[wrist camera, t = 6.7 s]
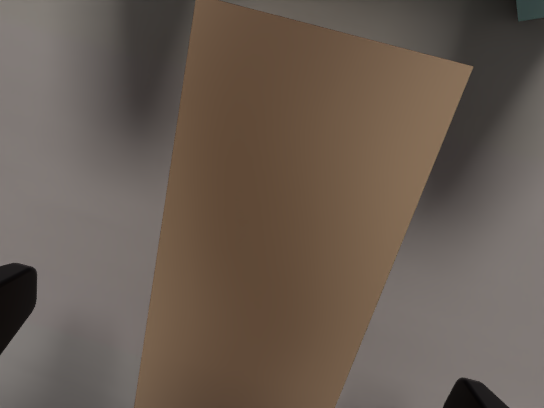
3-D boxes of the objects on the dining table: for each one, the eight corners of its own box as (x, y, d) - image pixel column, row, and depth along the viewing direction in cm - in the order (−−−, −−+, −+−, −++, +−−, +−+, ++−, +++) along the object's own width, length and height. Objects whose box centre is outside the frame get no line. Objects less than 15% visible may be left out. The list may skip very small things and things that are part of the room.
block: (408, 61, 9) (473, 65, 6) (282, 422, 14) (272, 560, 10) (242, 18, 9) (196, -5, 6) (170, 393, 14) (116, 520, 10)
